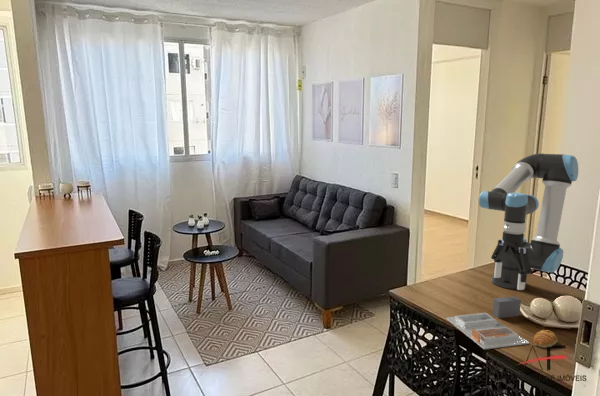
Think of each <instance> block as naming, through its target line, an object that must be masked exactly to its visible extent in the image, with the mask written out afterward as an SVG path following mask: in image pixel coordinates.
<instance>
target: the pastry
mask: <svg viewBox="0 0 600 396" xmlns="http://www.w3.org/2000/svg"><path fill="white" fill-rule="evenodd" d="M558 341H559V340H558V338H557V336H556V334H555V332H553V331H551V330H549V329H542V330H540V331H538V332H536V333H535V335H533V345H534V346H537V347H539V348H543V349H546V348H551V347H553V346H555V345H556V344H557V342H558Z"/></svg>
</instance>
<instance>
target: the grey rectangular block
mask: <svg viewBox="0 0 600 396" xmlns="http://www.w3.org/2000/svg"><path fill="white" fill-rule="evenodd" d="M521 302H522V299H521V298H519V297H517V296H508V297H507V296H505V297H497V298H496V297H495V298H493V301H492V303H493V304H492V315H493V316H494V317H495V318H497V319H501V318H502V319H503V318H511V317H520V316H521V315H520V314H521V305H522V303H521ZM519 315H520V316H519Z"/></svg>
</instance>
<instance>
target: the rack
mask: <svg viewBox="0 0 600 396" xmlns="http://www.w3.org/2000/svg"><path fill="white" fill-rule="evenodd" d="M445 320H447V321H448V322H450V323H451V324H452V325H453V326H454V327H455V328H457V329H458V330H460V332H462V333H463V334H464V335H465V336H466V337H468V338H469V339H471V340H472V341H473V342H474V343H476V344H477V345H478V346H479V347H480V348H482V349H483V350H484V351H485V350H491V349H499V348H509V347H514V346H522V345H529V344H530V343H529V341H528V340H526V339H525V338H523V337H521V336H520V335H519V334H518V333H517V332H515V331H514V330H513V329H511V328H509V327H508V326H505V325H503V324H502V323H501V322H499V321H498V320H497V319H496V318H494V317H493V316H491V315H490V314H489V313H488V312H480V313H478V312H477V313H468V314H460V315H454V316H447V317H445Z"/></svg>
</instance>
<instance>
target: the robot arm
mask: <svg viewBox="0 0 600 396" xmlns="http://www.w3.org/2000/svg"><path fill="white" fill-rule="evenodd" d="M578 177H579V163H578V159H577V158H576V156H574V155H573V154H571V155H570V154H566V153H565V154H564V153H563V154H561V153H560V154H559V153H558V154H557V153H533V154H530V155H528V156H525V157H523V158H521V159H520V160H518V161H517V162H516V163H515V164H514V165H513V166H512V169H511V170H510V172H509V173H508V174H506V175H505V176H504V177H503V179H502V180H501V181H500V182H499V183H498V184H497V185H495V187H494V188H493V189H492V190H491V191H489V190H484V191H481V193H480V194H479V196H478V205H479V207H480V208H482V209H485V210H493V211H501V212H504V218H503V229H502V230H503V232H502V237H501V238H500V239H498V240H497V244H496V247H495V248H494V251H493V253H492V254H491V256H490V257H491V260H493V262H494V265H493V266H494V267H493V269H494V271H493V274H492V276H491V283H492V284H493V285H495V286H498V287H501V288H505V289H509V290H510V289H511V290H518V291H523V290H525V289H526V287H527V278H528V277H527V276H528V275H531V274H533V272H532V269H533V270H537V271H542V272H547V273H554V272H556V271H557V270H558V269H559V267H560V265H561V263H562V260H563V257H564V249H563V248H561V247H560V246H561V244H560V242H559V241H558V236H559V231H560V227H561V226H560V225H561V220H562V215H563V209H564V204H565V199H566V192H567V189H569V187H571V186H572V182H576V181H577V180H578ZM535 178H536V179H542V181H541V182H542V184H543V185H544V190H543V195H542V196H543V197H542V200H541V206H540V212H539V217H538V222H537V228H536V234H535V236H534V237H532V238H531V239H530V242H528V241H527V238H525V234H524V233H525V229H526V218H527V215H529V214H532V213H534V212H536V211H537V210H538V208H539V205H540V203H539V200H538V198H537V197H535V196H534V195H531V194H526V193H522V192H517V190H519V188H520V187H521V186H522V185H523V184H524V183H525V182H526V181H529V180H531V179H535Z"/></svg>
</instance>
